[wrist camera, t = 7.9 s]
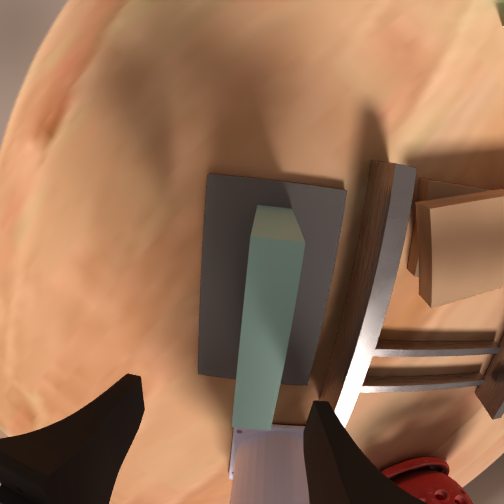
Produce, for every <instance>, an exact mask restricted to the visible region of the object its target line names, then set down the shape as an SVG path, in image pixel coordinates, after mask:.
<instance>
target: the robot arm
mask: <svg viewBox="0 0 504 504" xmlns="http://www.w3.org/2000/svg"><path fill="white" fill-rule="evenodd" d="M144 410H145V407H144V400H143V391H142V382H141V376H137V375H132V374H126V375H125V376H124V377H122V378H121V379H120V380H119V381H118V382H116V383H115V384H114V385H113V386H111V387H110V388H109V389H108V390H106V391H105V392H104V393H103V394H101V395H100V396H99V397H97V398H96V399H95V400H93V401H92V402H91V403H89V404H88V405H86V406H85V407H83V408H82V409H80V410H79V411H77V412H75V413H74V414H72V415H70V416H68V417H67V418H65V419H63V420H61V421H59V422H56V423H54V424H52V425H49V426H47V427H44V428H42V429H39V430H36V431H33V432H30V433H26V434H22V435H18V436H13V437H7V438H1V439H0V483H1V486H0V504H109V501H110V498H111V494H112V491H113V487H114V484H115V481H116V478H117V475H118V472H119V470H120V467H121V465H122V463H123V461H124V459H125V456H126V454H127V452H128V450H129V448H130V446H131V444H132V442H133V440H134V438H135V435H136V433H137V431H138V429H139V426H140V423H141V420H142V417H143V413H144ZM229 478H230V479H231V480H232V489H231V497H230V504H427V503H425V502H423V501H422V500H420V499H418V498H416V497H414V496H412V495H411V494H409V493H408V492H406V491H405V490H403V489H402V488H400V487H399V486H397V485H396V484H395V483H394V482H392V481H391V480H390V479H389V478H387V477H386V476H385V475H384V474H383V473H382V472H380V471H379V470H378V469H377V468H376V467H375V466H374V465H373V464H372V463H371V462H370V460H369V459H368V458H367V457H366V456H365V455H364V454H363V452H362V451H361V450H360V449H359V447H358V446H357V445H356V443H355V442H354V441H353V439H352V438H351V437H350V435H349V434H348V432H347V431H346V429H345V428H344V426H343V425H342V423H341V422H340V420H339V418H338V417H337V415H336V413H335V412H334V410H333V408H332V406H331V405H330V403H329V402H328V401H313V404H312V407H311V410H310V413H309V416H308V419H307V422H306V425H305V426H291V425H275V424H272V426H271V430H270V431H267V430H255V429H245V428H236V427H234V432H233V441H232V450H231V460H230V469H229Z"/></svg>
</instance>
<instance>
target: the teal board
mask: <svg viewBox="0 0 504 504" xmlns="http://www.w3.org/2000/svg"><path fill="white" fill-rule="evenodd" d="M304 249H305V240H304V237H303V235H302V232H301V230H300V227H299V224H298V222H297V219H296V217H295V214H294V212H293V209H290V208H282V207H273V206H264V205H257V209H256V213H255V218H254V222H253V227H252V232H251V236H250V246H249V256H248V266H247V276H246V285H245V295H244V305H243V315H242V325H241V335H240V345H239V355H238V365H237V375H236V385H235V395H234V405H233V415H232V425H231V427H236V428H245V429H255V430H267V431H270V430H271V426H272V421H273V417H274V412H275V407H276V403H277V398H278V393H279V388H280V383H281V379H282V374H283V369H284V363H285V358H286V353H287V348H288V343H289V337H290V332H291V326H292V321H293V315H294V310H295V304H296V298H297V292H298V286H299V280H300V274H301V268H302V262H303V255H304Z"/></svg>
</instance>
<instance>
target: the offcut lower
mask: <svg viewBox="0 0 504 504" xmlns="http://www.w3.org/2000/svg"><path fill="white" fill-rule="evenodd" d="M484 191H490V190H487V189H482V188H477V187H471V186H466V185H460V184H454V183H448V182H442V181H435V180H429V179H422V178H419V188H418V197H417V202H420V201H426V200H433V199H439V198H445V197H451V196H458V195H464V194H470V193H477V192H484ZM407 269H408V270H409V271H410V272H411V273H412V274H413V275H414V276H418V277H419V256H418V234H417V219H416V214H415V222H414V229H413V236H412V242H411V248H410V254H409V260H408V266H407Z"/></svg>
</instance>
